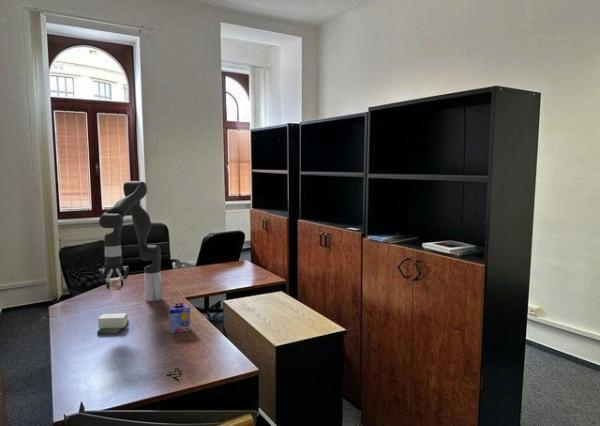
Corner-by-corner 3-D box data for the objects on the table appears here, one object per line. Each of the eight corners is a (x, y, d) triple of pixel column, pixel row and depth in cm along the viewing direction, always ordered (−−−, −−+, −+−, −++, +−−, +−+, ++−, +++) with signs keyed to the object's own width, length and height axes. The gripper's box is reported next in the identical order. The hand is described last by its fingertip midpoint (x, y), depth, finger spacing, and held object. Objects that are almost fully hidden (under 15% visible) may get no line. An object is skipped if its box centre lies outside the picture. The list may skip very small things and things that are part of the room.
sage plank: (127, 322, 215) (127, 313, 214) (124, 327, 209) (123, 317, 208) (102, 323, 214) (102, 314, 213) (98, 328, 208) (98, 318, 207)
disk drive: (108, 325, 219) (97, 337, 204) (108, 320, 218) (96, 331, 204) (129, 324, 219) (119, 336, 205) (128, 319, 219) (119, 330, 204)
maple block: (120, 287, 212) (119, 277, 211) (121, 289, 207) (120, 279, 207) (109, 288, 209) (108, 278, 209) (110, 291, 205) (109, 281, 204)
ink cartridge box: (170, 334, 206) (169, 305, 204) (168, 329, 211) (167, 301, 209) (190, 331, 210) (190, 302, 208) (189, 326, 215) (188, 299, 213)
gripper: (97, 257, 199) (99, 292, 202) (130, 254, 206) (131, 288, 208) (96, 254, 206) (98, 288, 208) (128, 251, 213) (129, 284, 215)
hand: (115, 288), depth 208 cm, fingers closed on maple block, 5 cm apart
